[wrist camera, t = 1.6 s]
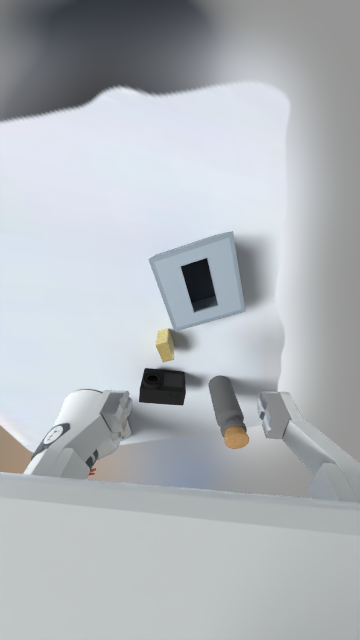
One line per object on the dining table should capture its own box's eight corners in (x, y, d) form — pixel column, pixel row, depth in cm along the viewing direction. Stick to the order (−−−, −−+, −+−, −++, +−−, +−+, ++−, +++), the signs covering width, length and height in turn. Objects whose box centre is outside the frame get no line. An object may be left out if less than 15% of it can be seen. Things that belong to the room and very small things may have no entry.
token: (174, 344, 42) (173, 359, 36) (164, 346, 42) (163, 362, 36) (168, 328, 40) (167, 341, 34) (158, 331, 40) (155, 345, 35)
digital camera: (185, 367, 45) (187, 388, 38) (182, 383, 47) (183, 406, 40) (145, 364, 44) (139, 384, 37) (143, 380, 46) (138, 402, 40)
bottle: (233, 378, 46) (258, 435, 33) (223, 394, 49) (243, 453, 35) (213, 373, 45) (230, 429, 32) (205, 389, 48) (217, 447, 34)
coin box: (228, 294, 37) (245, 311, 28) (174, 310, 38) (174, 331, 29) (216, 234, 32) (232, 231, 23) (155, 255, 33) (148, 259, 24)
